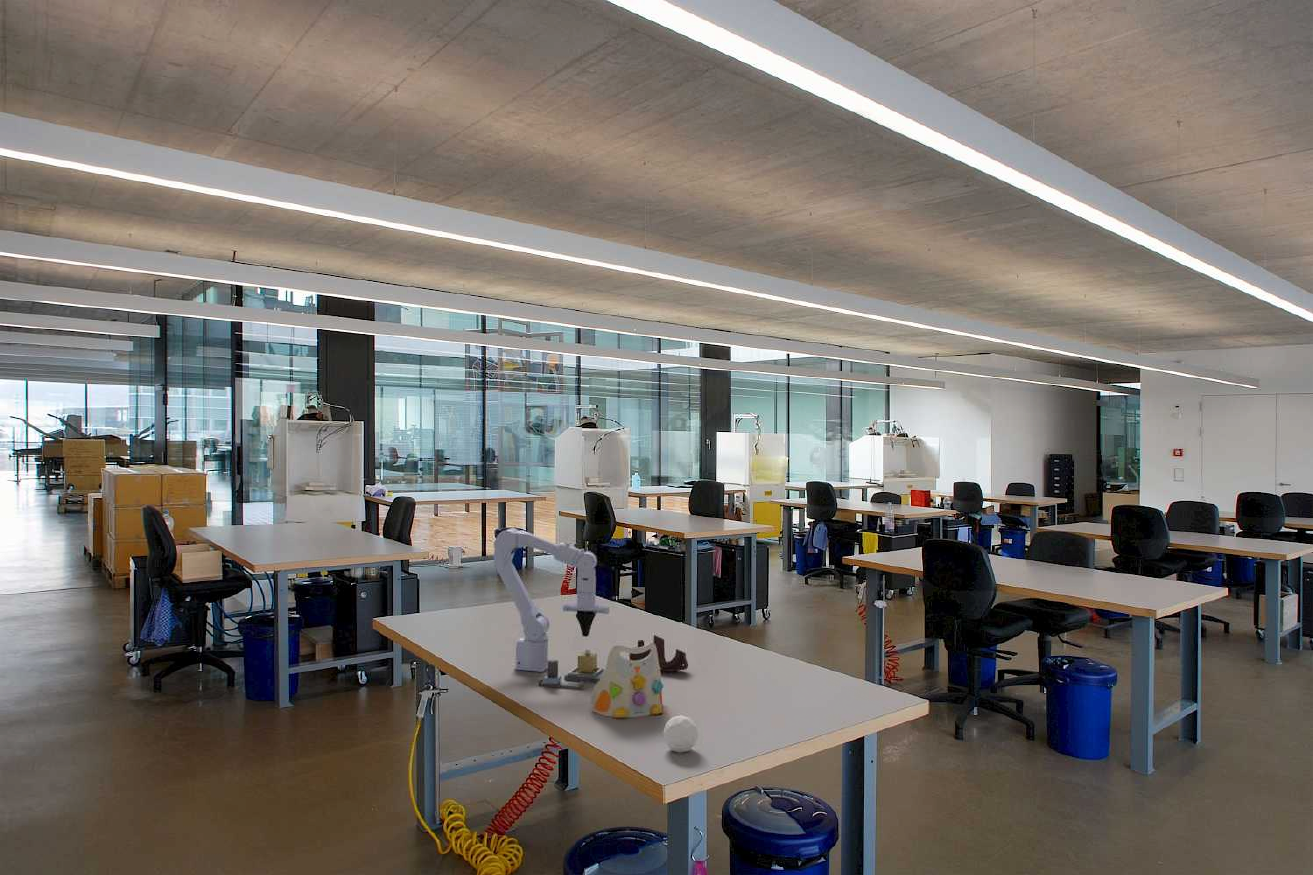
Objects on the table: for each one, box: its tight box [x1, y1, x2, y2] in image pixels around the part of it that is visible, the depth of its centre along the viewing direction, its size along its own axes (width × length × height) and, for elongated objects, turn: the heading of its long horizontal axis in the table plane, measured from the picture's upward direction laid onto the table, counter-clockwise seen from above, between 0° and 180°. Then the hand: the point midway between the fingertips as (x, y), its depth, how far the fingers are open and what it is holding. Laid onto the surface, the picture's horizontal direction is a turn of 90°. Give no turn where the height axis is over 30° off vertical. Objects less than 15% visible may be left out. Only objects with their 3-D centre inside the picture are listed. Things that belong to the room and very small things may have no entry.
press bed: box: [564, 665, 606, 684], centre depth 236 cm, size 14×10×7 cm
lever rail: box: [538, 677, 585, 690], centre depth 226 cm, size 13×2×2 cm, turn 75°
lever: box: [543, 659, 562, 684], centre depth 227 cm, size 4×3×6 cm
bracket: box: [628, 634, 689, 672], centre depth 246 cm, size 6×18×11 cm, turn 69°
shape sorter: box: [590, 641, 664, 719], centre depth 205 cm, size 20×10×18 cm, turn 114°
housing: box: [577, 649, 598, 674], centre depth 236 cm, size 4×4×7 cm
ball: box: [662, 714, 699, 754], centre depth 179 cm, size 8×8×8 cm
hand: (585, 635), depth 244 cm, fingers closed
